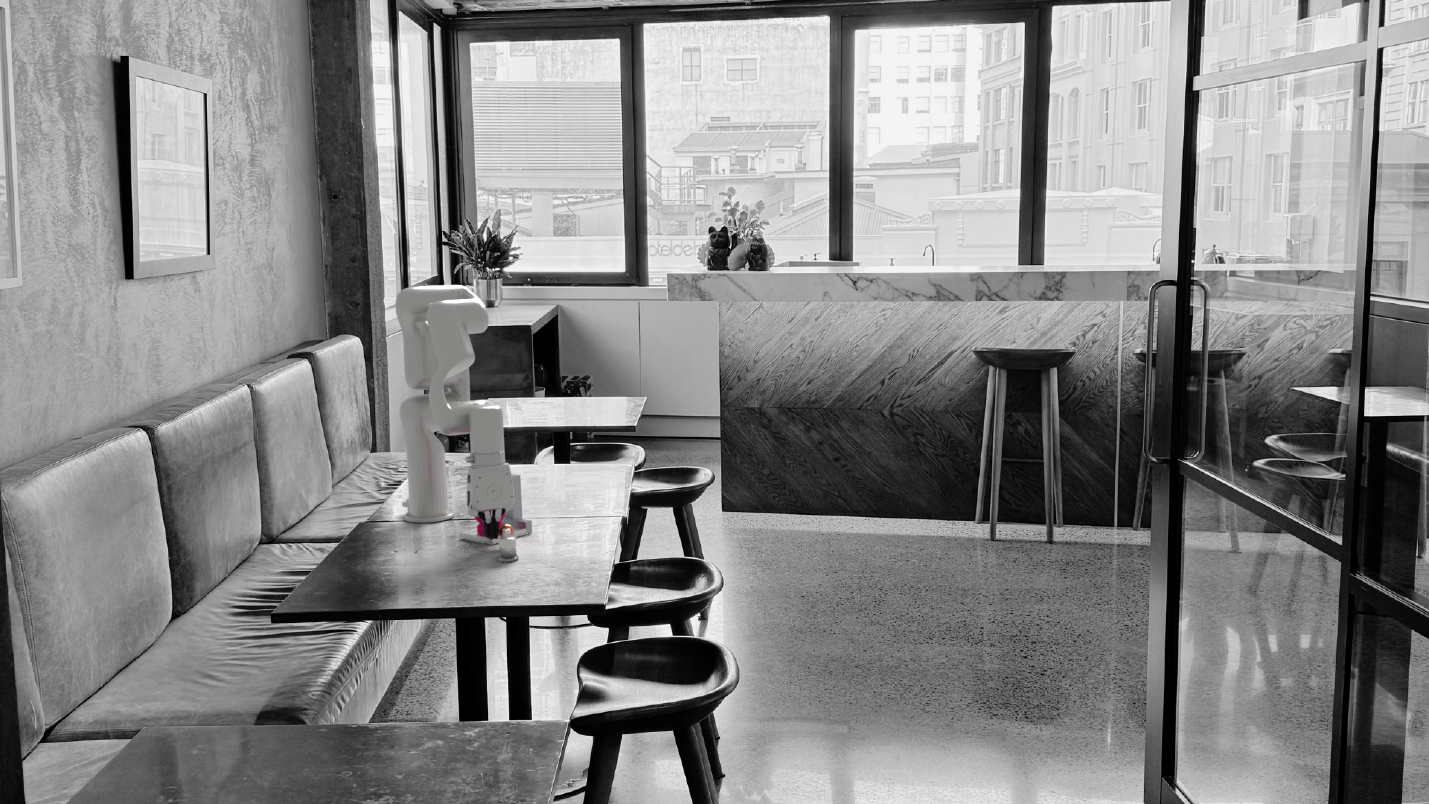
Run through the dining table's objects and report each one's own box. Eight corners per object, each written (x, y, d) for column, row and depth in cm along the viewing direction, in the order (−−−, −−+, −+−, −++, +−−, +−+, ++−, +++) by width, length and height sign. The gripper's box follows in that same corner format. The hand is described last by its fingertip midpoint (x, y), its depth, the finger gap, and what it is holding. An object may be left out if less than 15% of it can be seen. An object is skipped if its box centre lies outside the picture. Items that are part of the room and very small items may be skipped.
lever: (516, 557, 256) (515, 538, 255) (500, 558, 255) (499, 539, 255) (514, 540, 271) (513, 521, 270) (498, 541, 270) (497, 523, 270)
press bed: (428, 548, 269) (424, 492, 267) (508, 524, 290) (505, 473, 288) (508, 563, 254) (505, 504, 253) (586, 537, 275) (584, 483, 273)
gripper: (463, 465, 257) (467, 547, 260) (525, 457, 266) (529, 536, 268) (450, 461, 264) (454, 540, 266) (511, 452, 272) (514, 529, 275)
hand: (492, 538), depth 267 cm, fingers closed
